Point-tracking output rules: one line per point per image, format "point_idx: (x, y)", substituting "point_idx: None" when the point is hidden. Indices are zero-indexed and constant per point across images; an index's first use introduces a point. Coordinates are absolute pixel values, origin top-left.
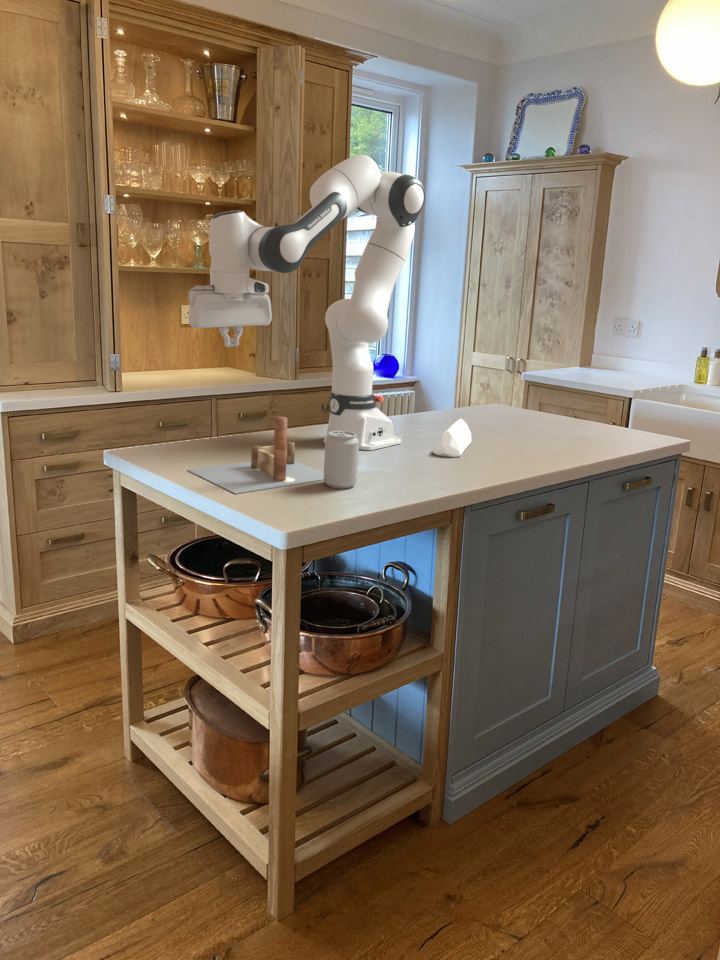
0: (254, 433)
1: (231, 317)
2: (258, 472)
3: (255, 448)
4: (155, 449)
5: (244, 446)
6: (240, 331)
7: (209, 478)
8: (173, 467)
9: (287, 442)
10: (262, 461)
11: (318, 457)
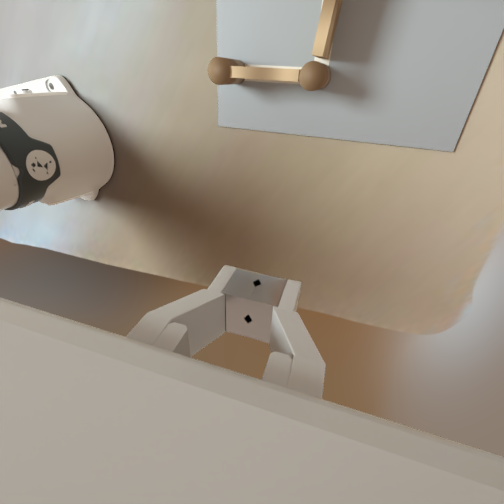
0: (180, 280)
1: (205, 483)
2: (345, 30)
3: (322, 65)
4: (370, 303)
5: (235, 232)
6: (169, 318)
7: (487, 42)
8: (452, 189)
9: (220, 80)
10: (334, 23)
11: (162, 88)
